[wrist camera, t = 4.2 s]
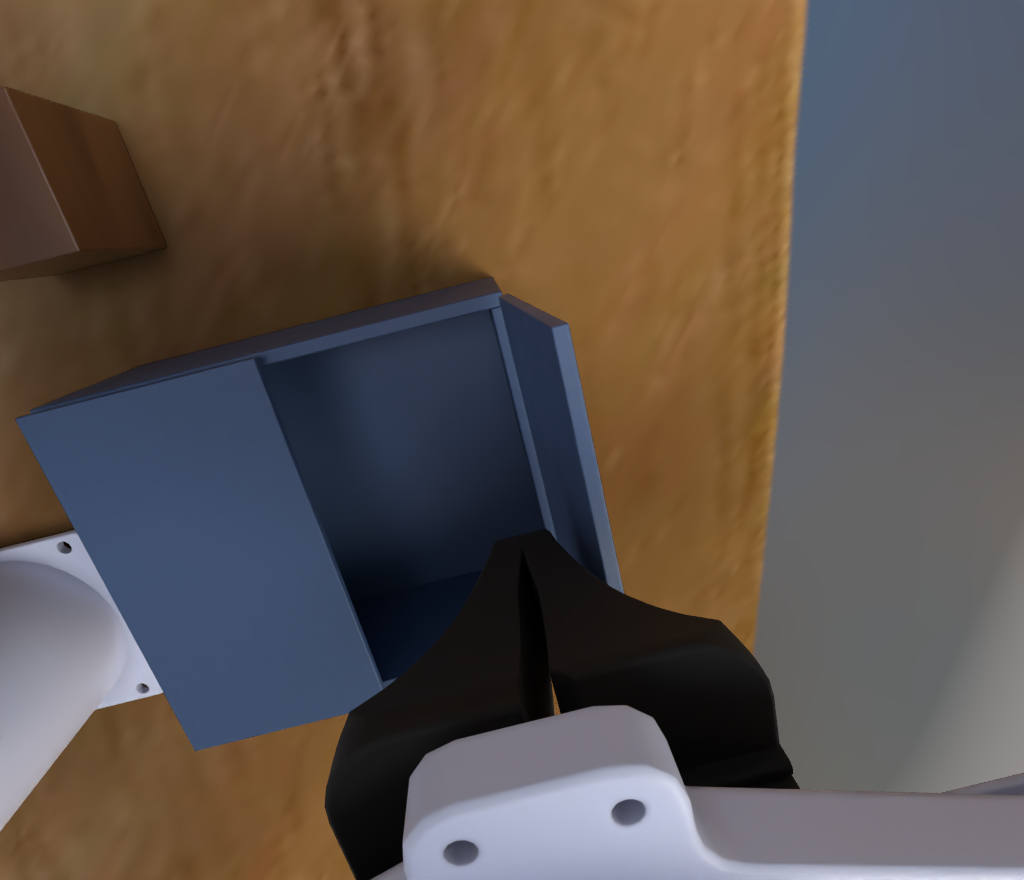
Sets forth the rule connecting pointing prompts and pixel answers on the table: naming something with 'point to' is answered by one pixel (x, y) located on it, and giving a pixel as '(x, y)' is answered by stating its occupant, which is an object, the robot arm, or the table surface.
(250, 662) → the carton
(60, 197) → the block
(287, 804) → the table surface
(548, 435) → the flap
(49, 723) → the robot arm
